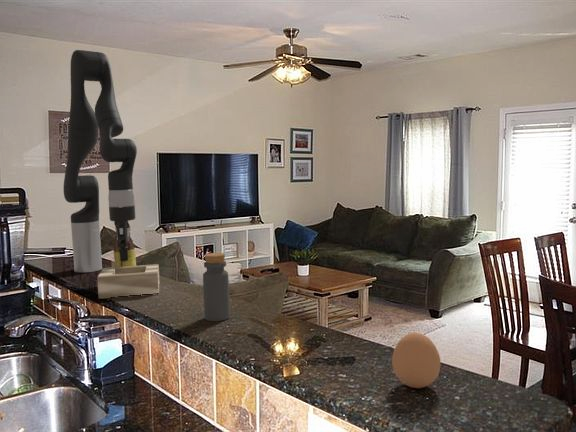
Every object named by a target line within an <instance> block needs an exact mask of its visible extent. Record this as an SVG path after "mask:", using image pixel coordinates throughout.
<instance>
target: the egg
mask: <svg viewBox="0 0 576 432" xmlns="http://www.w3.org/2000/svg"><path fill="white" fill-rule="evenodd" d="M391 363H392V369H393V371H394V374H395V376H396V377H397V378H398V379H399V381H401V383H403V384H404V385H406V386H408V387H410V388H414V389H422V388H425V387H427V386H429V385H431V384H432V383H434V381H435V380H436V379H437V378H438V376H439V374H440V371H441V357H440V353H439V351H438V349H437V347H436V345H435V343H434V342H433V340H431V338H429V336H426V335H424V333H423V334H422V333H421V332H411V333H408V334H406V335H404V336H402V337H401V338H400V339H399V341H398V342H397V343H396V345H395V346H394V350H393V352H392V357H391Z"/></svg>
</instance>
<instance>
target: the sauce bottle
mask: <svg viewBox="0 0 576 432" xmlns="http://www.w3.org/2000/svg"><path fill="white" fill-rule="evenodd" d="M113 223H114V227H115V228H116V227H118V222H117V221H113ZM128 223H129V221H127V222H126V224H127V227H128ZM121 243H125V241H122V242H121ZM127 244H128V248H127V250H128V260H127V261H121V260H120V249H119V248H118V241H117V232H116V231H115V237H114V239H113V242H112V246H113V258H114V267H124V266H137V261H136V260H137V259H136V258H137V257H136V250H135V245H134V244H135V243H134V241H133V239H132V236H131V234H130V235H129V241H128V242H127Z"/></svg>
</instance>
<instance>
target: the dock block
mask: <svg viewBox="0 0 576 432" xmlns="http://www.w3.org/2000/svg"><path fill="white" fill-rule="evenodd" d="M159 267H160V265H159V264H158V263H155V264H140V265H136V266H124V267H115V266H114V267H113V266H112V267H111V266H110V267H102V269H101V270H100V272H99V274H98V275H97V277H96V278H97V281H96V282H97V294H98V300H99V299H101V300H102V299H112V298H111V297H115V298H119V297H118V296H128V297H130V296H129V295H140V294H141V296H143V295H142V294H153V293H160V285H161V282H160V268H159ZM159 284H160V285H159ZM153 295H154V294H153Z"/></svg>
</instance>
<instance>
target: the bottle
mask: <svg viewBox="0 0 576 432" xmlns="http://www.w3.org/2000/svg"><path fill="white" fill-rule="evenodd" d="M225 256H226V254H225V253H223V252H212V253H211V252H210V253H206V254H204V259H205V262H203V266H204V268H206V271H205V272H204V273H202V285H203V306H204V319H205V320H206V321H209V322H223V321H227V320H229V319H230V317H231V309H230V307H231V305H230V302H231V301H230V285H229V284H230V283H229V282H230V281H229V272H228V271H227V270H225V267H226V266H227V261H225ZM226 319H227V320H226ZM222 320H223V321H222Z"/></svg>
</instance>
